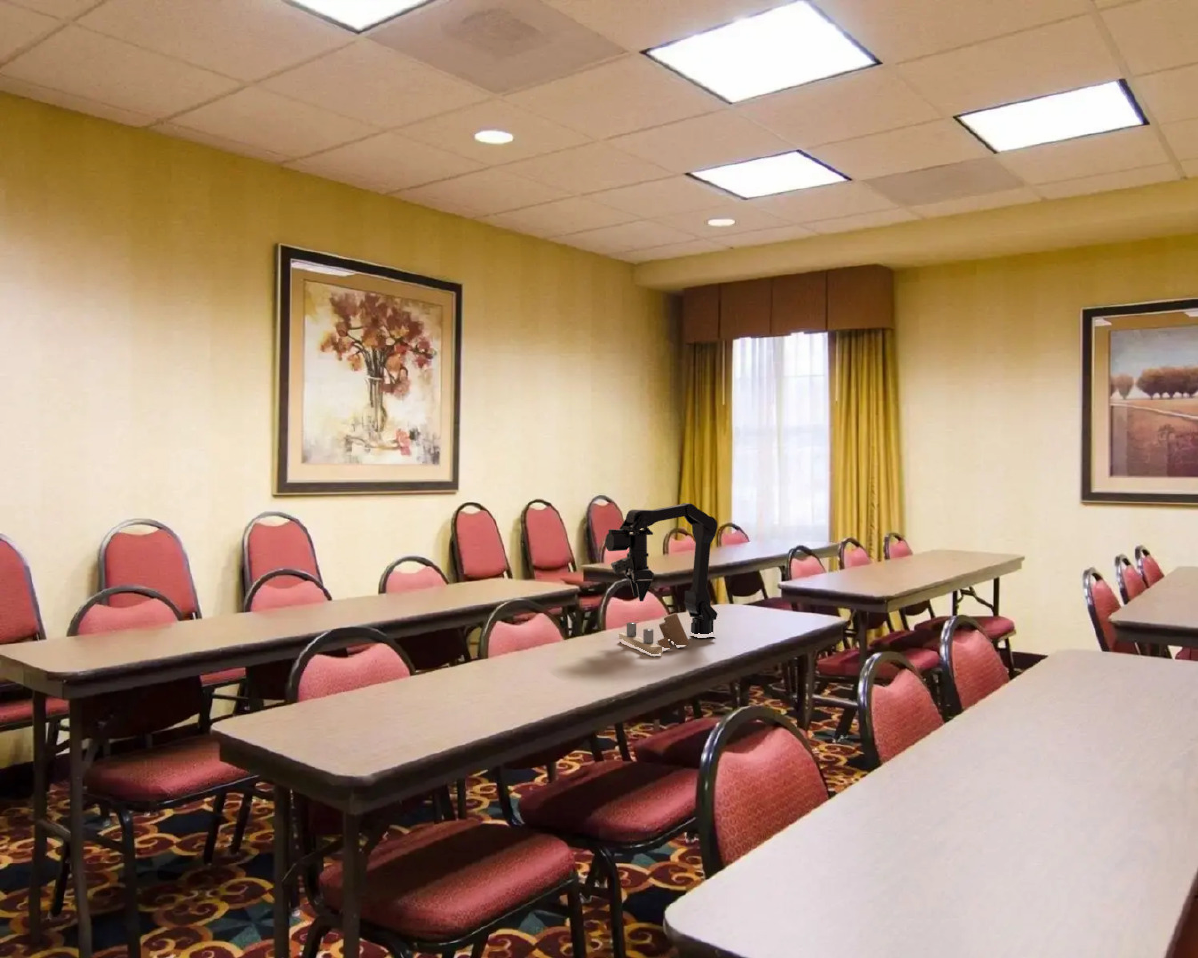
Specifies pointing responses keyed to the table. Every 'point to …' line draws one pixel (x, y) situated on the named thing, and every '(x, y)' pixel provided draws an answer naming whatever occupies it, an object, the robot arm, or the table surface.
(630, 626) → the steel bench dogs
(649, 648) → the maple stop rail
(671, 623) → the wooden block set
